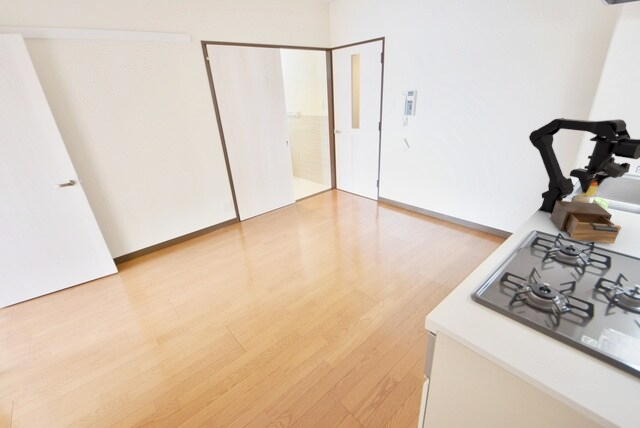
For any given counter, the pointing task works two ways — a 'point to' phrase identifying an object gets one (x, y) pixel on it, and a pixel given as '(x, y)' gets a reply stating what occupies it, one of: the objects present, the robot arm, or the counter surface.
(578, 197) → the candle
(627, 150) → the robot arm
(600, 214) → the cabinet
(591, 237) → the drawer
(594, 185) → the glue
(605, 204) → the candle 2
